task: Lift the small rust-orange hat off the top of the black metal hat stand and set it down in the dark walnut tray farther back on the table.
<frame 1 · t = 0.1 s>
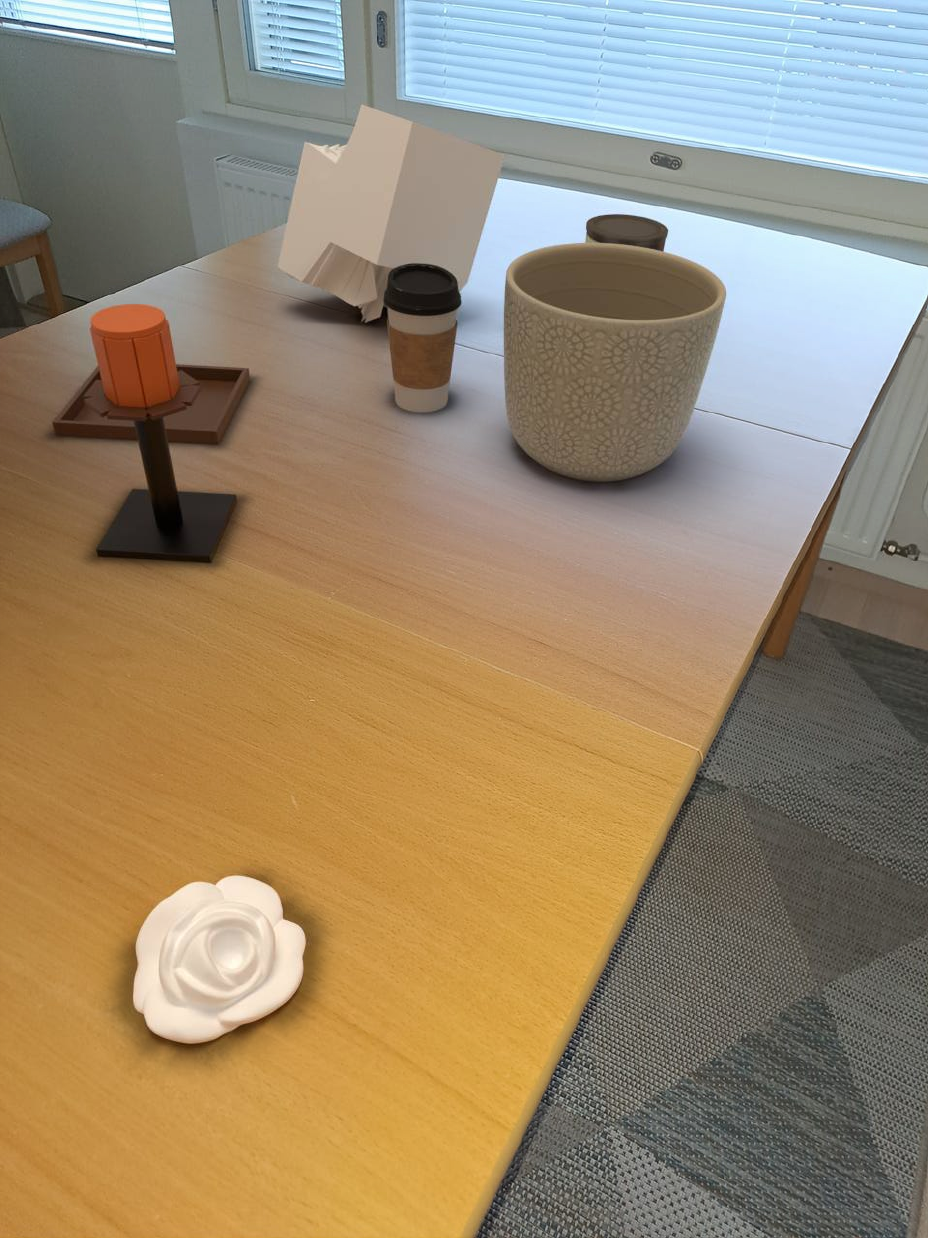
hat: (143, 395, 76), point 14 cm above the table, touching hat stand
rose: (223, 969, 53), on the table
tray: (159, 412, 102), on the table
planter: (589, 455, 99), on the table
hat stand: (172, 534, 85), on the table
tissue box: (386, 313, 127), on the table
coffee cup: (421, 407, 106), on the table
coffee can: (610, 334, 124), on the table
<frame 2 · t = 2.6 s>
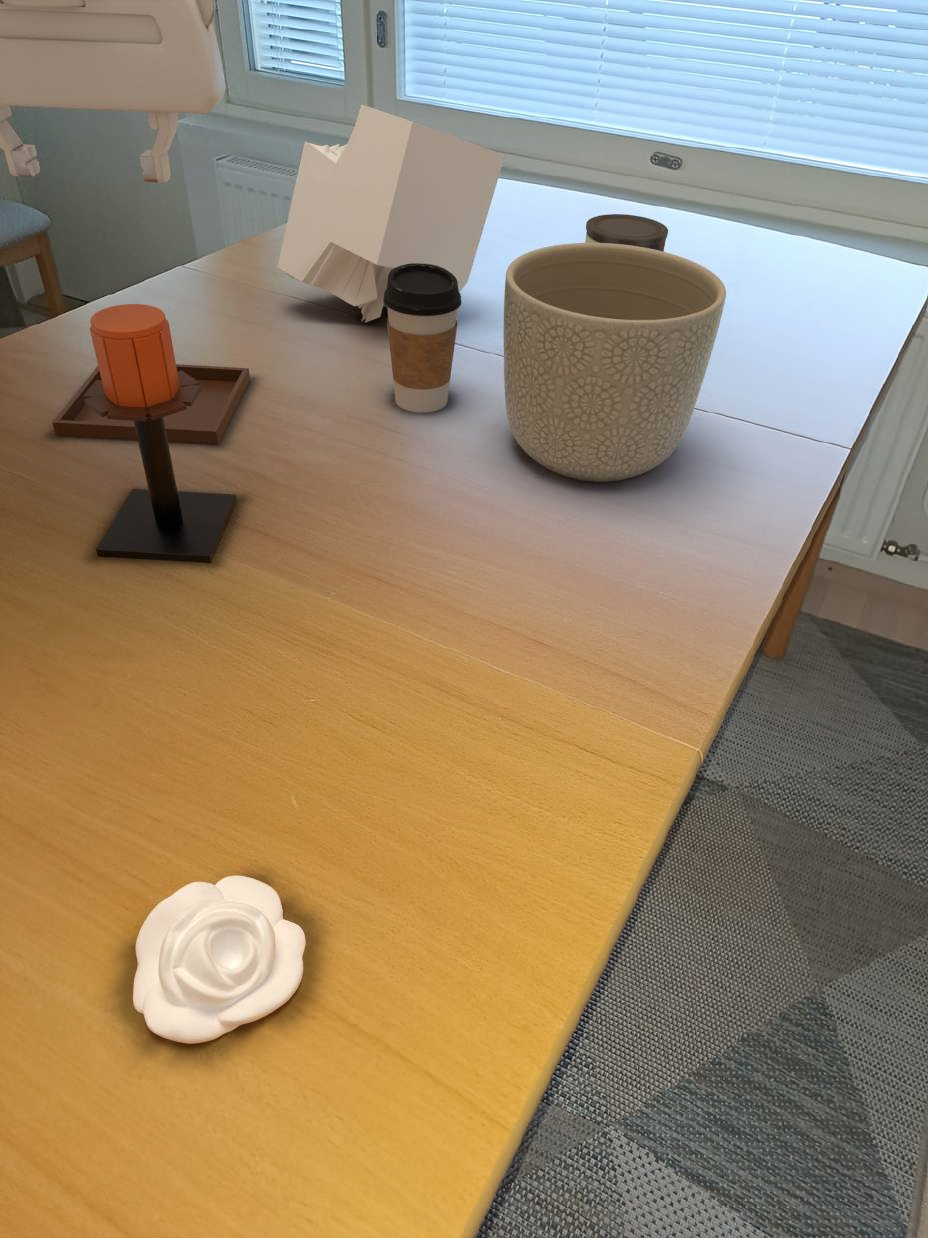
hand: (92, 177, 65), 31 cm above the table, tool pointing down, fingers open, 8 cm apart
nothing on the table moved.
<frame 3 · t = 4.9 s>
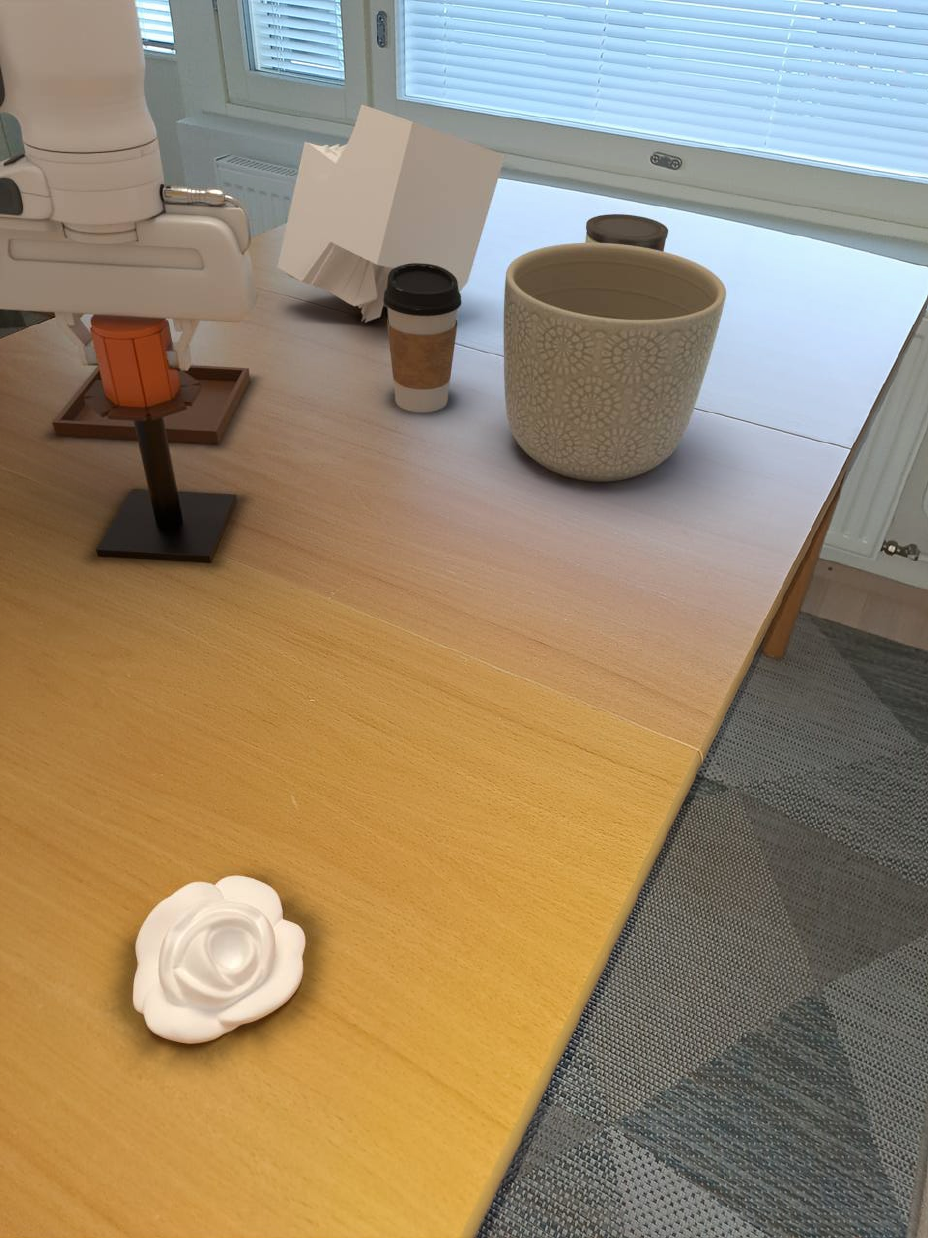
hand: (137, 365, 74), 17 cm above the table, tool pointing down, fingers closed on hat, 5 cm apart
hat: (144, 395, 76), point 14 cm above the table, touching gripper, hat stand
everything else where it was.
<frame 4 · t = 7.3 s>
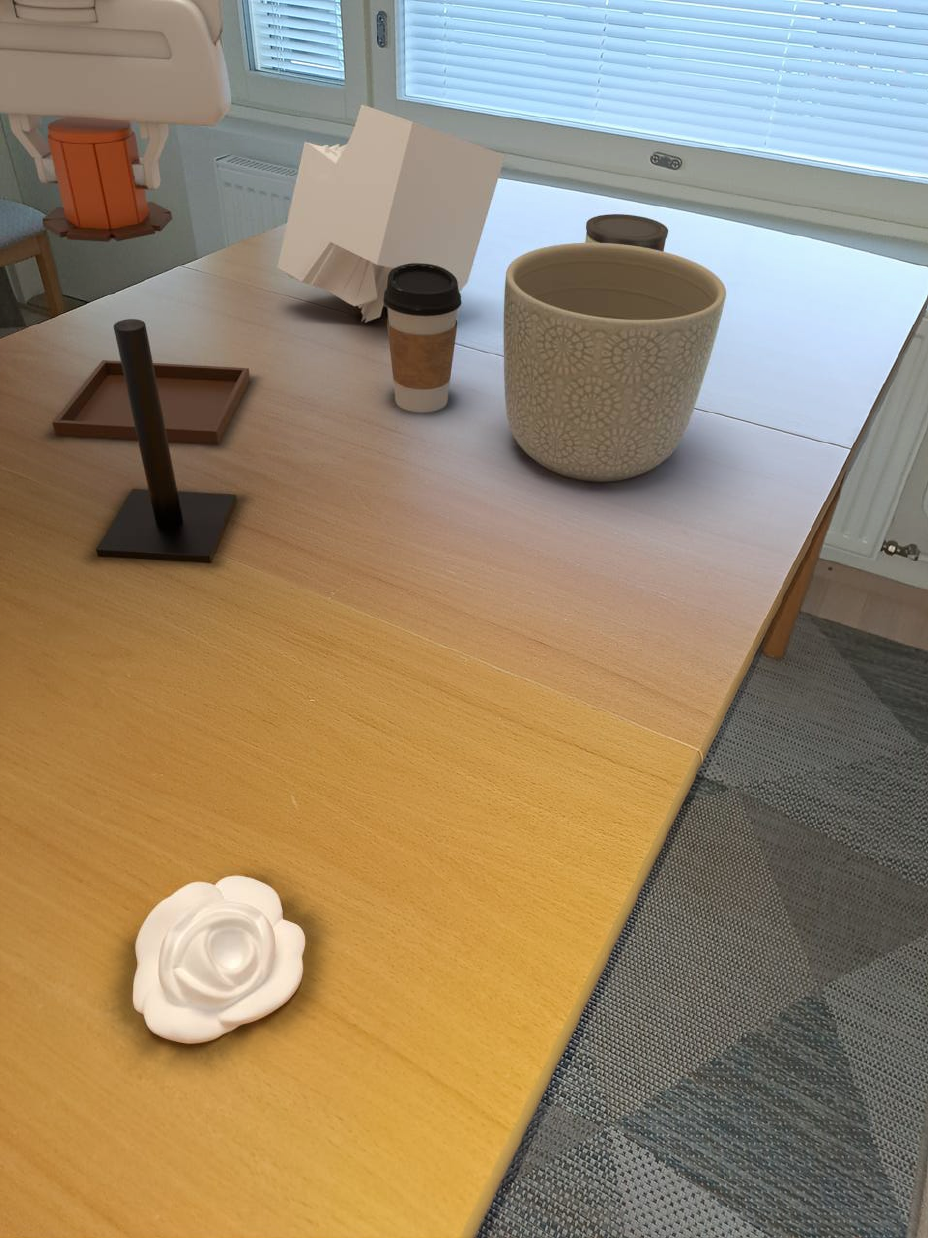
hand: (100, 184, 67), 30 cm above the table, tool pointing down, fingers closed on hat, 5 cm apart
hat: (108, 221, 69), point 27 cm above the table, touching gripper
everything else where it was.
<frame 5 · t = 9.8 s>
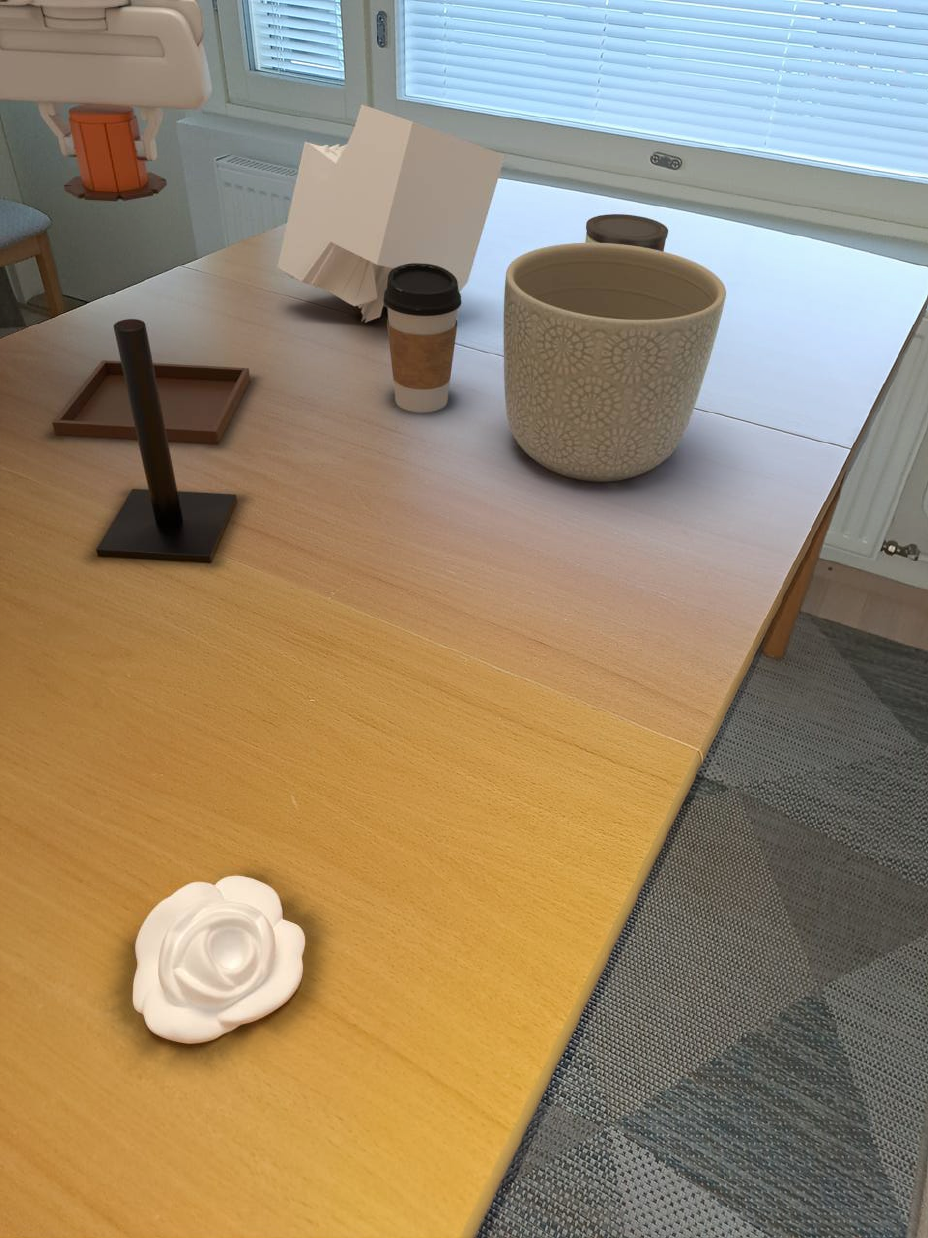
hand: (110, 157, 85), 26 cm above the table, tool pointing down, fingers closed on hat, 5 cm apart
hat: (116, 187, 87), point 24 cm above the table, touching gripper
everything else where it was.
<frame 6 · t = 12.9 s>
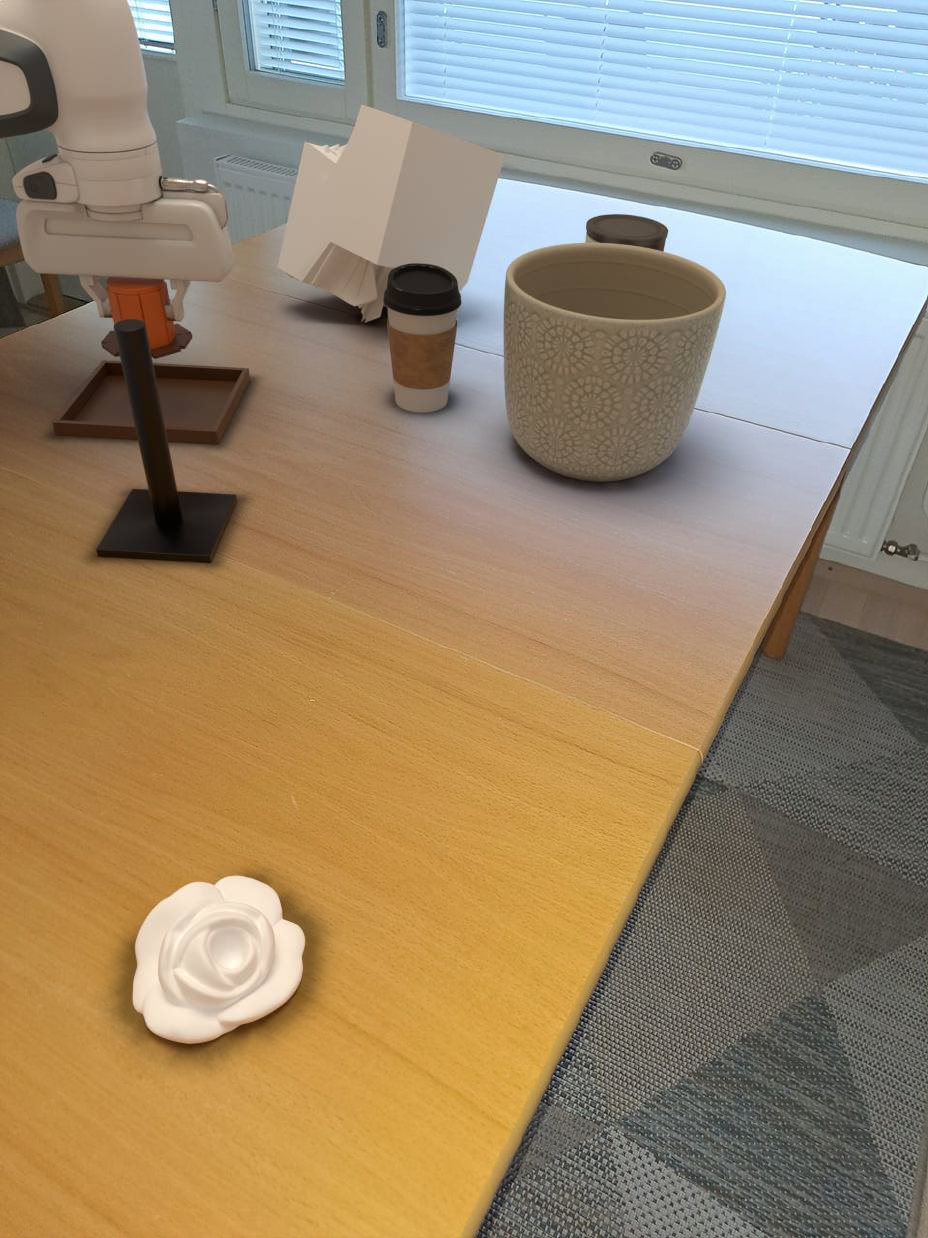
hand: (142, 317, 95), 11 cm above the table, tool pointing down, fingers closed on hat, 5 cm apart
hat: (147, 341, 97), point 8 cm above the table, touching gripper
everything else where it was.
when the fingers open (3 cm above the table, at t = 15.2 s): hat stays where it is, resting on tray.
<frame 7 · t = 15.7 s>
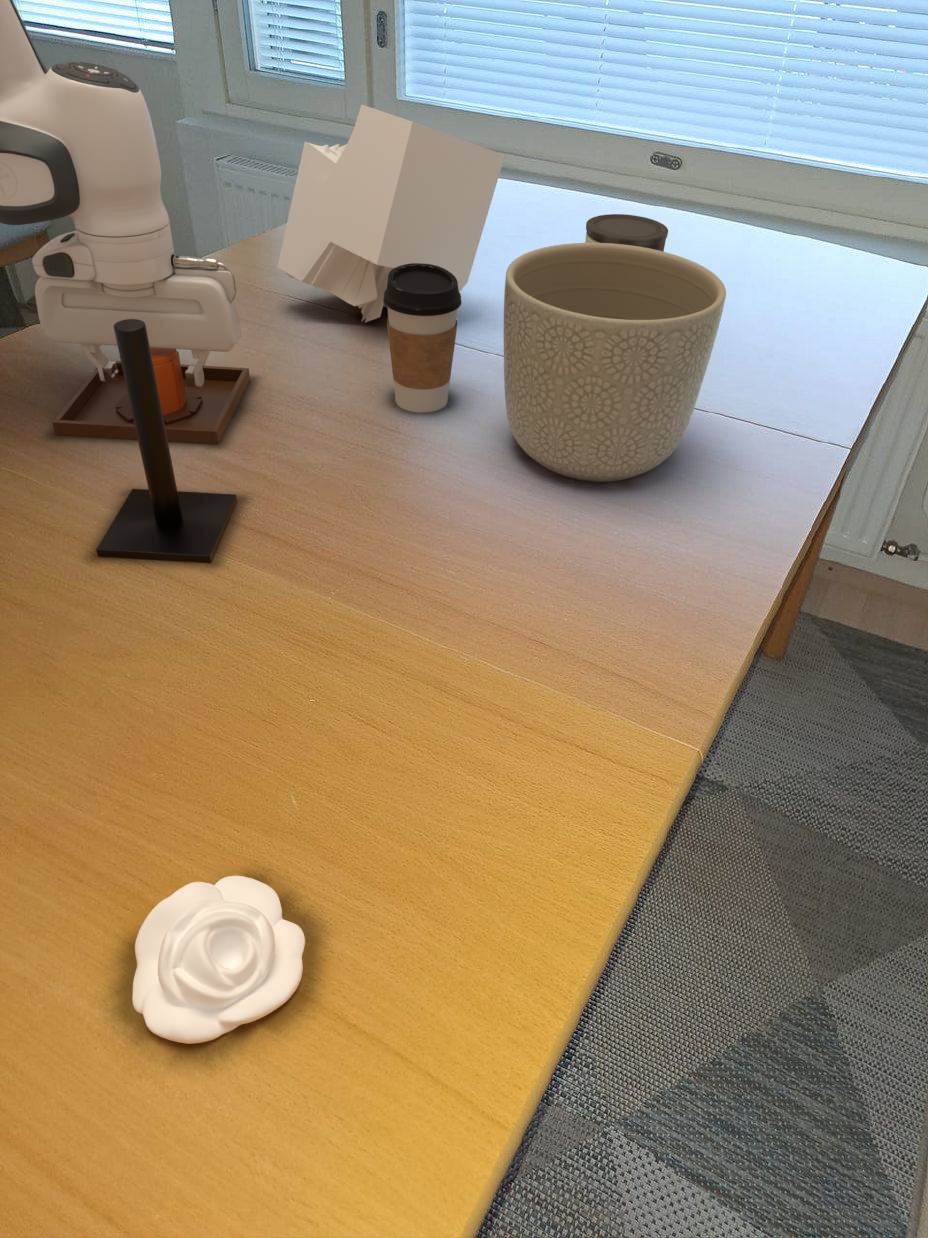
hand: (153, 382, 100), 4 cm above the table, tool pointing down, fingers open, 8 cm apart
hat: (159, 406, 102), point 1 cm above the table, touching tray
everything else where it was.
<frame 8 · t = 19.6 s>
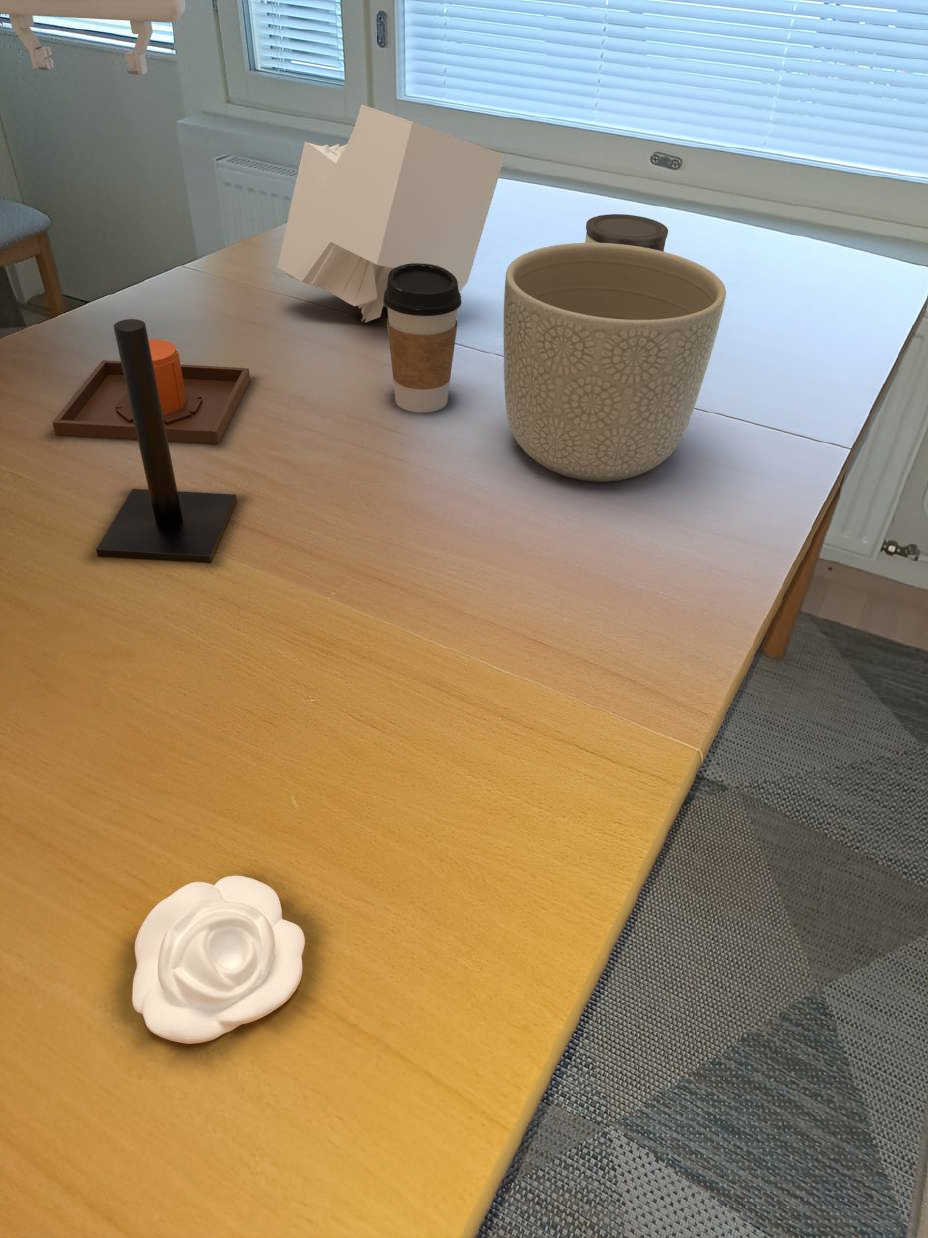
hand: (91, 70, 91), 31 cm above the table, tool pointing down, fingers open, 8 cm apart
nothing on the table moved.
at the end: hat inside the target area in the tray (0.2 cm from its centre), point 0.8 cm above the tray's base; hat tilted 0°; the gripper is holding nothing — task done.
